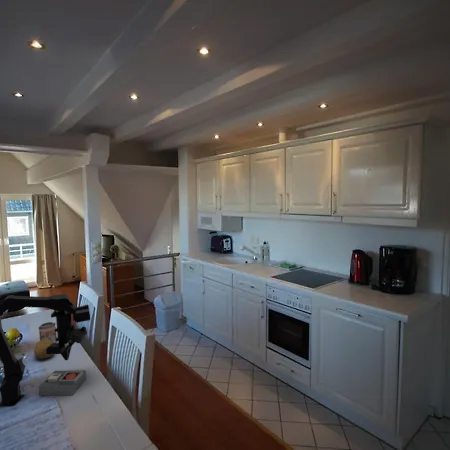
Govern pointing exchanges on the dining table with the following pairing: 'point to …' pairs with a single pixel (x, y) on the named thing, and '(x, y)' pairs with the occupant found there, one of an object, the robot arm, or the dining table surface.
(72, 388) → the grey flat box
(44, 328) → the beverage can
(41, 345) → the potato
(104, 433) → the dining table surface
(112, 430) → the dining table surface
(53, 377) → the on key
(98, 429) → the dining table surface
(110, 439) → the dining table surface
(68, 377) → the button
